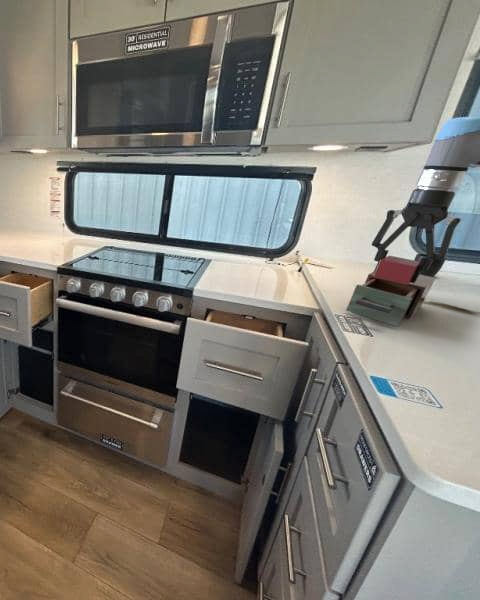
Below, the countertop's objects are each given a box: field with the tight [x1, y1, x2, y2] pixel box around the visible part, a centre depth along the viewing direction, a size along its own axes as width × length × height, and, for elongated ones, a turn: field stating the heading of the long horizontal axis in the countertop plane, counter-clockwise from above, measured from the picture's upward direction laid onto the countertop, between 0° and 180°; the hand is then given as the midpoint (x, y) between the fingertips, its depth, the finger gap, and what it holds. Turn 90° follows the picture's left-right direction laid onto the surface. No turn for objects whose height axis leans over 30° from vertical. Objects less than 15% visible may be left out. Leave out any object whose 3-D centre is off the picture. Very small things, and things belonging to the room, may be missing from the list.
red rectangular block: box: [374, 255, 420, 285], centre depth 89 cm, size 7×9×5 cm
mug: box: [413, 253, 447, 278], centre depth 131 cm, size 8×12×10 cm
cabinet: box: [364, 271, 437, 320], centre depth 100 cm, size 17×13×10 cm
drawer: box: [345, 278, 419, 328], centre depth 91 cm, size 21×11×8 cm, turn 128°
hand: (393, 277), depth 90 cm, fingers closed on red rectangular block, 7 cm apart
